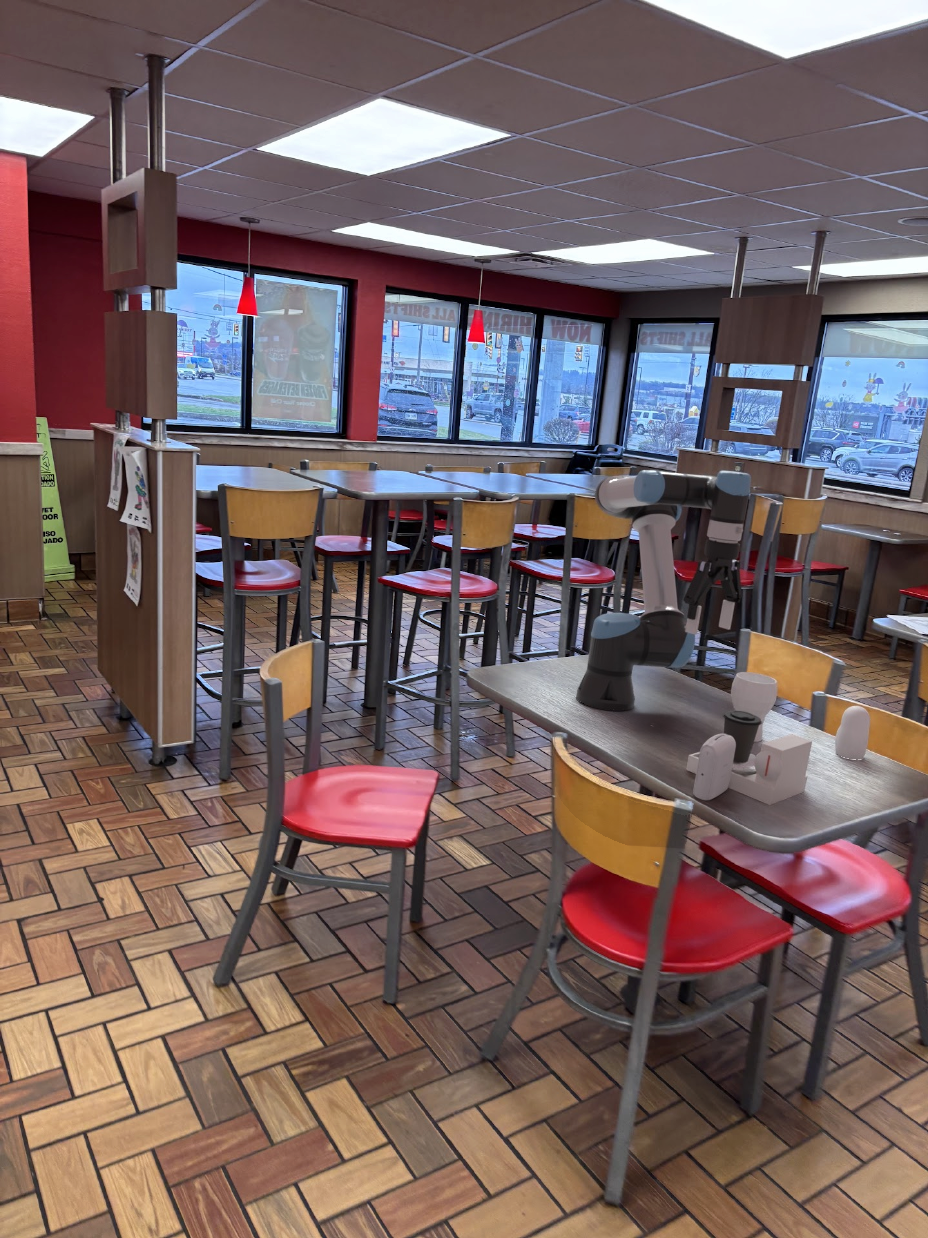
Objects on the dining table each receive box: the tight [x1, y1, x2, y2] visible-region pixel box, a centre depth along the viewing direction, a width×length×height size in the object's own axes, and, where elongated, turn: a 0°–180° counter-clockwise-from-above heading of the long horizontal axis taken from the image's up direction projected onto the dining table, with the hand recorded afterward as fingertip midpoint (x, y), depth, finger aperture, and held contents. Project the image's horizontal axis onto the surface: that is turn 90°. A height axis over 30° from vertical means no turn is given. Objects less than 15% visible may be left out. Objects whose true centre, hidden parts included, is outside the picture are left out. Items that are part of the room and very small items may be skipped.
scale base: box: [685, 733, 813, 806], centre depth 192 cm, size 21×14×11 cm
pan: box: [731, 753, 757, 774], centre depth 195 cm, size 12×12×3 cm
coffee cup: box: [722, 710, 762, 763], centre depth 193 cm, size 8×8×10 cm
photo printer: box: [692, 733, 736, 801], centre depth 183 cm, size 10×4×12 cm, turn 140°
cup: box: [730, 671, 778, 743], centre depth 220 cm, size 11×11×15 cm
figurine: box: [834, 705, 871, 760], centre depth 215 cm, size 7×8×12 cm
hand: (708, 630), depth 211 cm, fingers open, 13 cm apart
